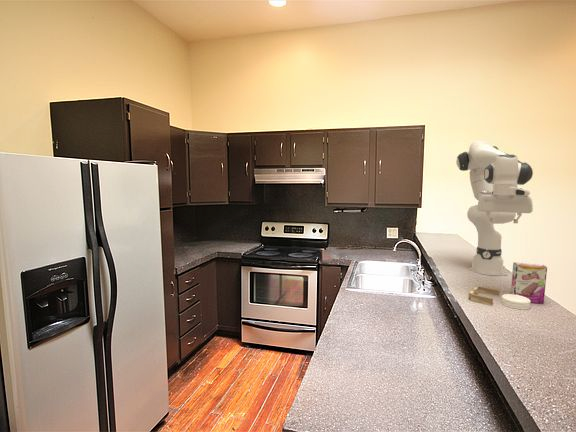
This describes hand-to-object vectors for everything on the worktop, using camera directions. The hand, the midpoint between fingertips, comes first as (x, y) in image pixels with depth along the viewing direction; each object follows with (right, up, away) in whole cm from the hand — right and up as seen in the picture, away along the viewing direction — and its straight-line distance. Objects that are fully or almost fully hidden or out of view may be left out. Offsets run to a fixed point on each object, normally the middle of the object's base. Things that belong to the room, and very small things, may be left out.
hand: (503, 222), depth 141 cm
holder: (-8, -34, 0) cm, 35 cm away
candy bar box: (+8, -34, -3) cm, 36 cm away
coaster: (0, -35, -7) cm, 36 cm away
